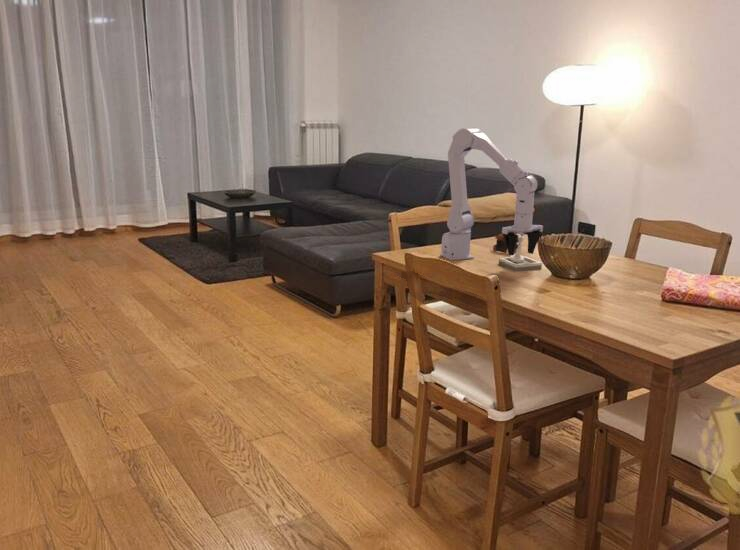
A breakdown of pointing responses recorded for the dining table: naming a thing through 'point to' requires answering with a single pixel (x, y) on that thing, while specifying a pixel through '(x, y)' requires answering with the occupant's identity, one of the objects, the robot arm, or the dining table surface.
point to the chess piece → (518, 250)
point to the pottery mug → (503, 243)
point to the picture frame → (520, 264)
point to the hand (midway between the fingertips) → (520, 253)
